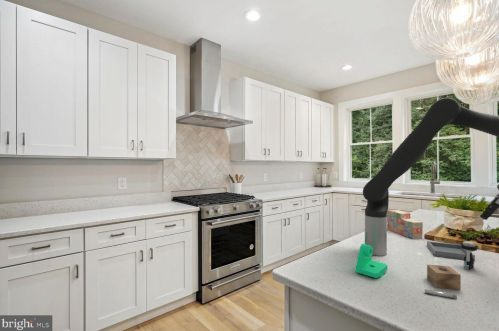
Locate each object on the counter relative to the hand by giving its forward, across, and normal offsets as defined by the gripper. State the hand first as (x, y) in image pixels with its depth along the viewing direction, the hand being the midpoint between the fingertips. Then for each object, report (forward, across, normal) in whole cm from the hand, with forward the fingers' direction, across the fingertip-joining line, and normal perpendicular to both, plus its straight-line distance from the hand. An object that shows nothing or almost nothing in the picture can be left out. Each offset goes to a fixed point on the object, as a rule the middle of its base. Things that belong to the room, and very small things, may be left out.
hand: (486, 215), depth 98 cm
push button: (+20, +7, +8) cm, 22 cm away
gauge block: (+16, +30, +6) cm, 35 cm away
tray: (+28, -6, -1) cm, 28 cm away
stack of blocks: (+45, -20, -22) cm, 55 cm away
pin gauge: (+13, +40, +8) cm, 43 cm away
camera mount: (+25, +43, -10) cm, 50 cm away
